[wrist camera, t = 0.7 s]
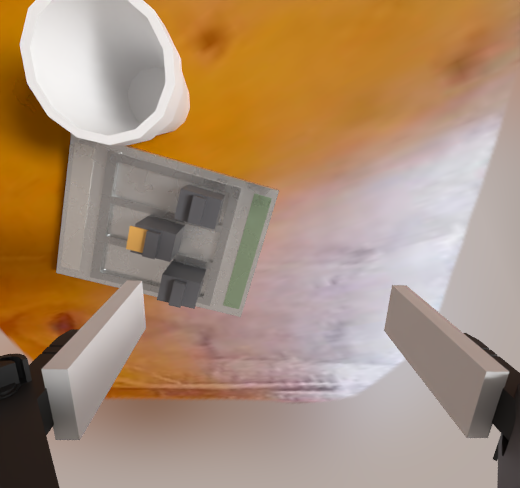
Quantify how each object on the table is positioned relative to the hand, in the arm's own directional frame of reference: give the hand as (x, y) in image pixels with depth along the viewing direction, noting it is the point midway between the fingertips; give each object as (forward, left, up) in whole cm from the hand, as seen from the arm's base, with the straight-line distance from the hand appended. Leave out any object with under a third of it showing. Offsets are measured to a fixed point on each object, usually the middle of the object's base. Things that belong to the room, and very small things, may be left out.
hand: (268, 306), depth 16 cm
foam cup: (-13, +10, -21) cm, 26 cm away
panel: (-10, -4, -20) cm, 23 cm away
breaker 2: (-6, +1, -19) cm, 20 cm away
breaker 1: (-10, -4, -19) cm, 22 cm away
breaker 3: (-6, -8, -19) cm, 21 cm away
